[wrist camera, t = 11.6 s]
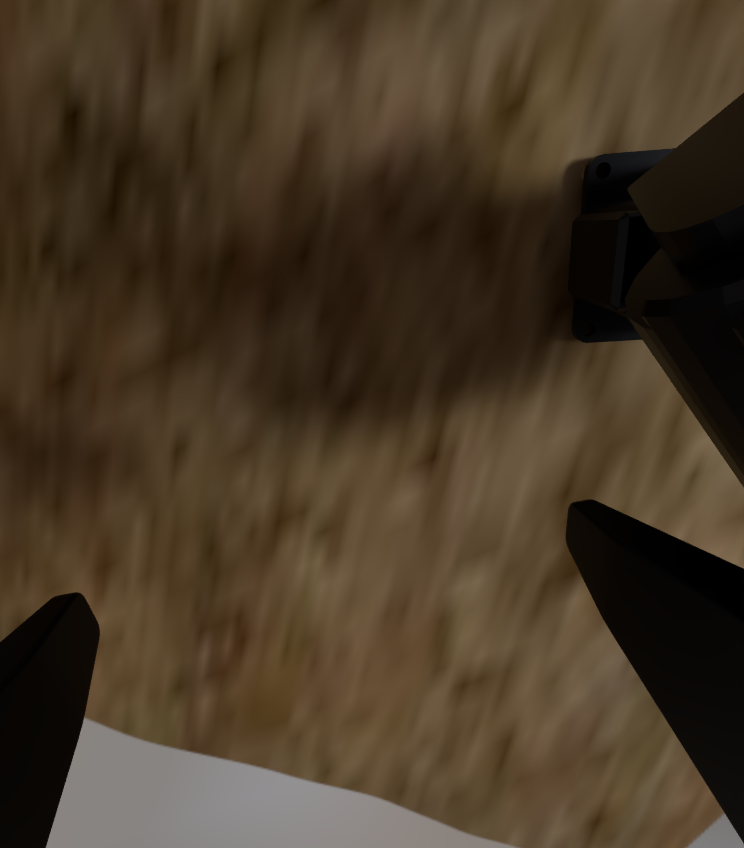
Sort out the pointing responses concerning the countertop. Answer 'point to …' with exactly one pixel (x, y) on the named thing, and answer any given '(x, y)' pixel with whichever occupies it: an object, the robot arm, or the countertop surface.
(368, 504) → the countertop surface
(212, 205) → the countertop surface
